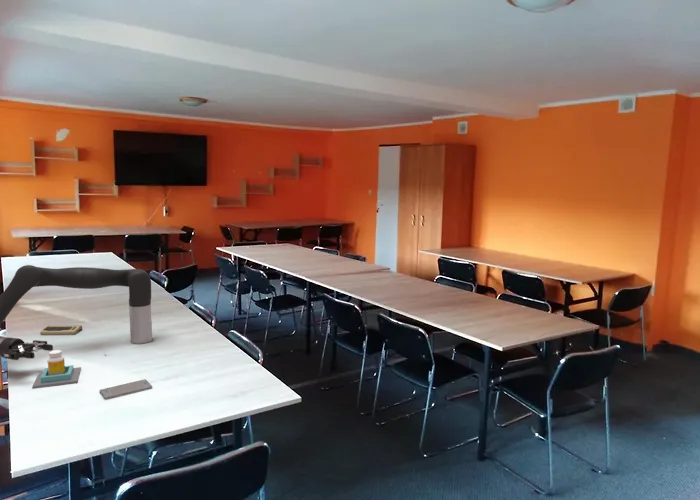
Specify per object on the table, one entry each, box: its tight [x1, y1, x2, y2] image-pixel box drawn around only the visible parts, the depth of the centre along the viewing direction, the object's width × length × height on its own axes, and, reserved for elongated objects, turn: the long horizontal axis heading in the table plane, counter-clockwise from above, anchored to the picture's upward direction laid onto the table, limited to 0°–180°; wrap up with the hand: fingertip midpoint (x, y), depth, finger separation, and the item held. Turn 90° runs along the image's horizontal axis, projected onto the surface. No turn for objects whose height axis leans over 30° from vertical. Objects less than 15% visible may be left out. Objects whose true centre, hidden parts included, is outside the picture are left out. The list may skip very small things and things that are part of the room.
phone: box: [99, 378, 153, 401], centre depth 175 cm, size 8×16×1 cm, turn 129°
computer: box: [39, 324, 83, 336], centre depth 235 cm, size 16×8×3 cm, turn 95°
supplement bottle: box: [47, 349, 66, 376], centre depth 183 cm, size 5×5×10 cm
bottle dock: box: [31, 364, 82, 389], centre depth 183 cm, size 14×14×3 cm
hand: (43, 351), depth 183 cm, fingers open, 8 cm apart
